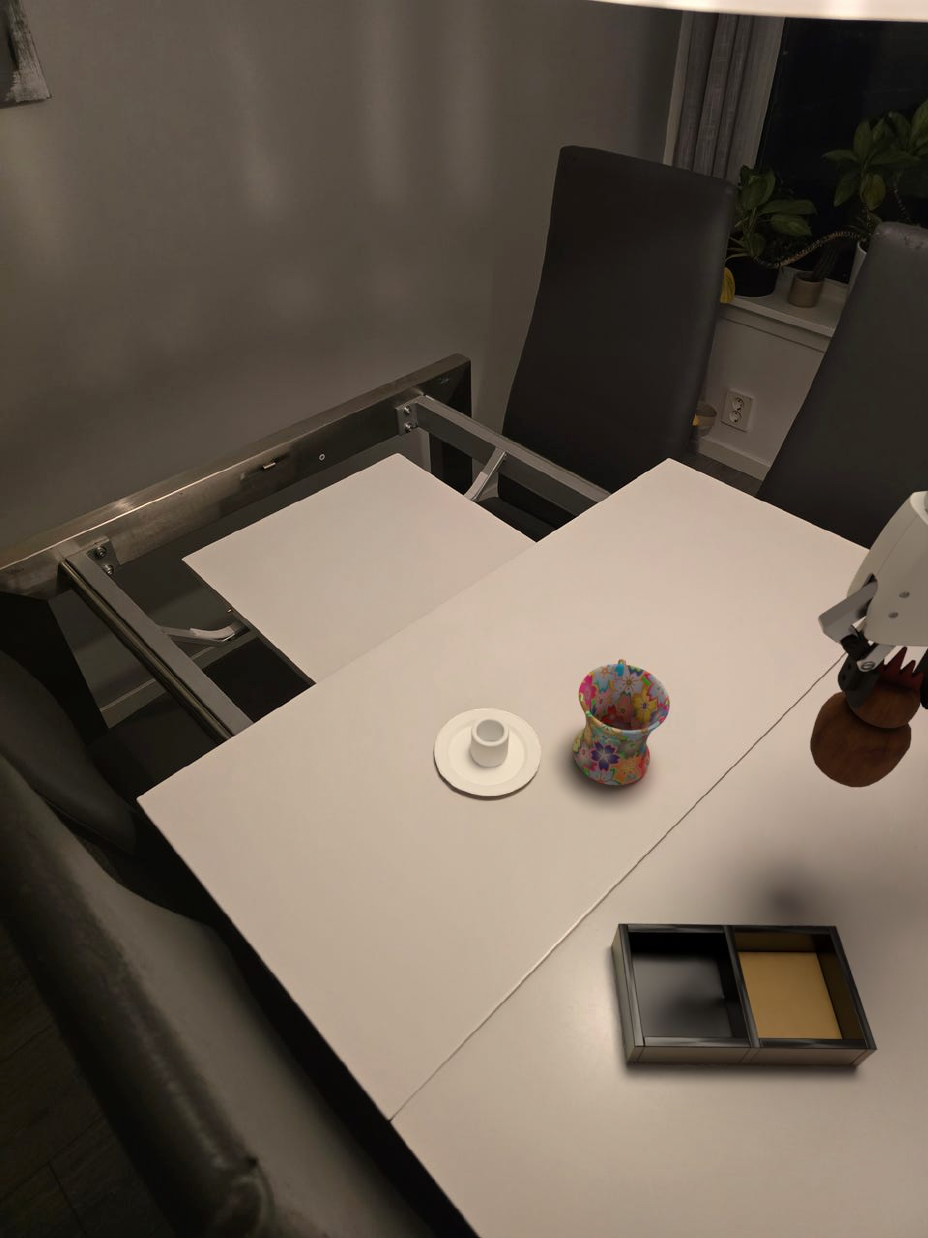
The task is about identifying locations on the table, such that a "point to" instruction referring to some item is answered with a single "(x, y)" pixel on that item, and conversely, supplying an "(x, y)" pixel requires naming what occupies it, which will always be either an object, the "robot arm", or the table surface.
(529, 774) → the candle holder
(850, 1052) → the divided tray
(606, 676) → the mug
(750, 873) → the table surface
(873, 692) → the wooden figurine
